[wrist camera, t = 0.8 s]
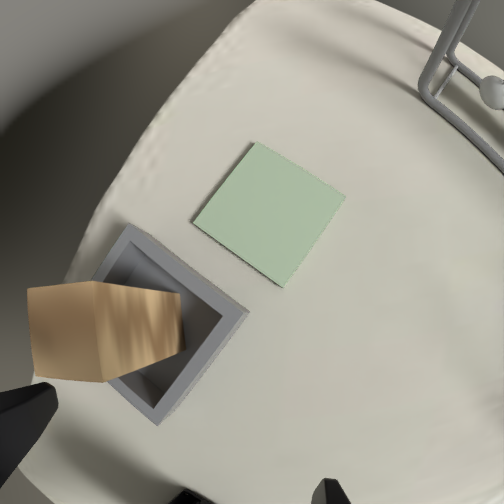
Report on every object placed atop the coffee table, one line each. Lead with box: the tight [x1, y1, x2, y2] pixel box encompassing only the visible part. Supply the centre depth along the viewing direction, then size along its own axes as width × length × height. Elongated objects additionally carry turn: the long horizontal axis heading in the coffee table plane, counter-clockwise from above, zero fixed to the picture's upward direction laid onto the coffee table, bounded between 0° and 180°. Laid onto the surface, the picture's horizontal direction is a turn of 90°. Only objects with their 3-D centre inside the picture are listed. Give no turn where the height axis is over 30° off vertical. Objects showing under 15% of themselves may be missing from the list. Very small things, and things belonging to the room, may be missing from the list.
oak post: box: [27, 281, 186, 383], centre depth 19 cm, size 5×5×12 cm
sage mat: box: [193, 141, 346, 288], centre depth 25 cm, size 9×9×1 cm
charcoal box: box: [91, 223, 250, 426], centre depth 23 cm, size 11×11×4 cm
